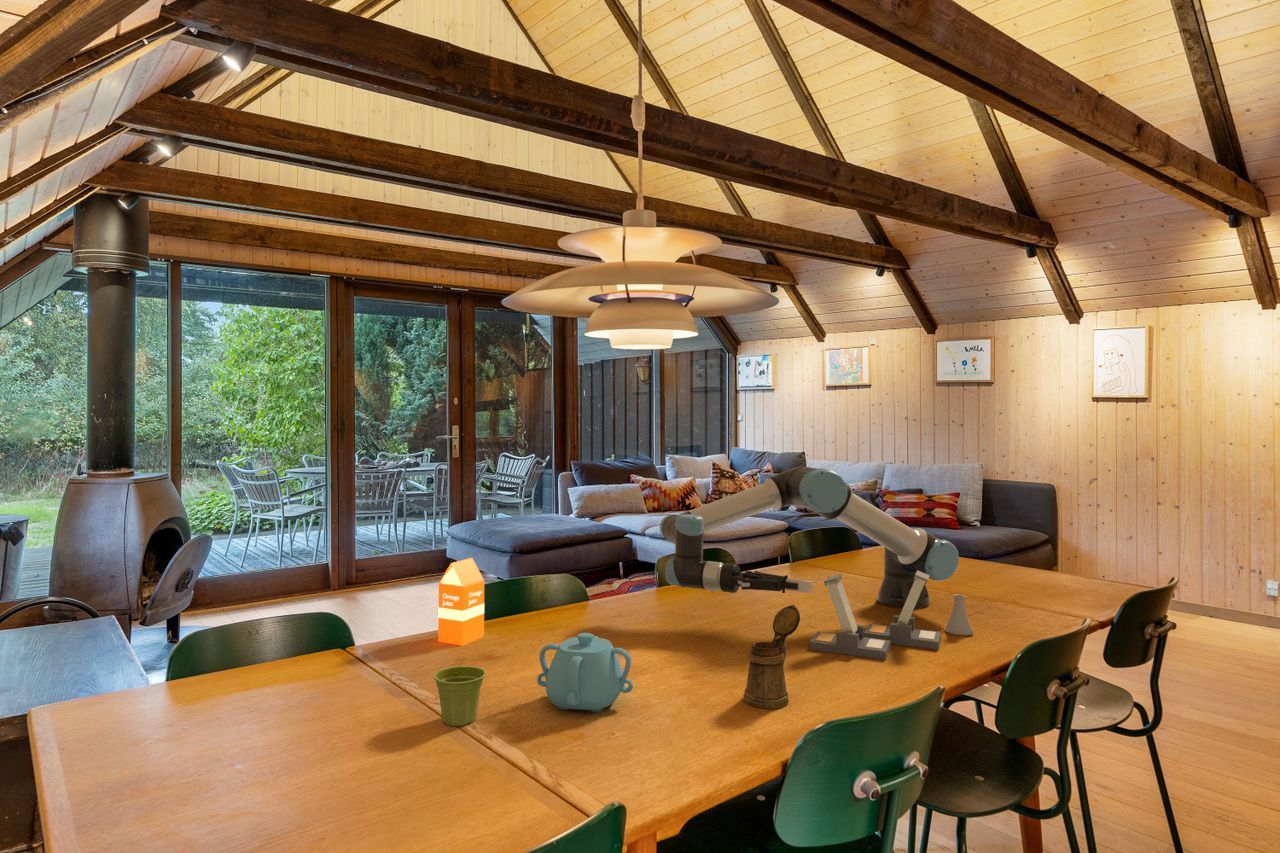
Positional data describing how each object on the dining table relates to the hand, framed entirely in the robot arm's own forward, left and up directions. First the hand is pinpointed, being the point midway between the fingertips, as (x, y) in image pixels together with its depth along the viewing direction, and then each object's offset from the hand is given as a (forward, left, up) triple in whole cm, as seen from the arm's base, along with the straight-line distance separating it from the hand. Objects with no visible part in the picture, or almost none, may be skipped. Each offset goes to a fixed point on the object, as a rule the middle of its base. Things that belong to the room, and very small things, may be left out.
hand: (812, 587), depth 192 cm
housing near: (+6, +8, -14) cm, 17 cm away
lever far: (0, +25, -11) cm, 27 cm away
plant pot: (+35, -85, -15) cm, 93 cm away
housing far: (+1, +25, -14) cm, 29 cm away
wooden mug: (+34, -23, -15) cm, 43 cm away
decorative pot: (+30, -61, -15) cm, 69 cm away
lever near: (+6, +8, -11) cm, 15 cm away
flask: (-3, +44, -15) cm, 46 cm away
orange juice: (-18, -87, -15) cm, 90 cm away
